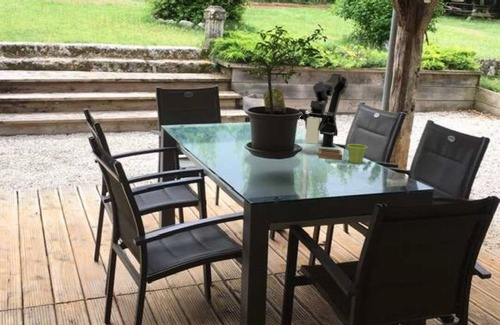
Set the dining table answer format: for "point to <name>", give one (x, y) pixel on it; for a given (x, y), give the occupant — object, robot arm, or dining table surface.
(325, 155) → the box
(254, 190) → the dining table surface
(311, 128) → the cream rectangular block
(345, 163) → the dining table surface
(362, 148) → the plant pot
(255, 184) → the dining table surface
